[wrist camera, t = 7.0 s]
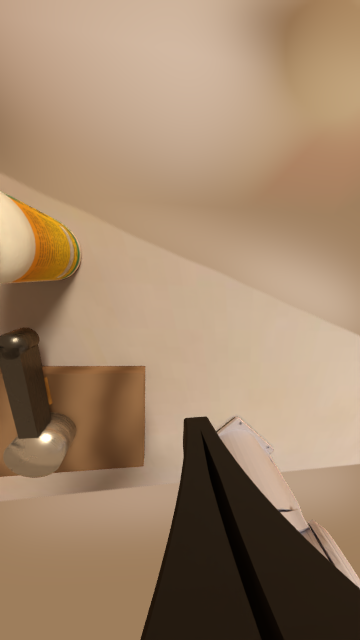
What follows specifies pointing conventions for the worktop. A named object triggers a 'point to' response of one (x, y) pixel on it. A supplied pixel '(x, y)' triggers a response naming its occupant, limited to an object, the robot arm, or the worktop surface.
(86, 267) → the worktop surface
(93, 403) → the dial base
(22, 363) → the round-headed handle tool
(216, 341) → the worktop surface
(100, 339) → the worktop surface
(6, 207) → the supplement bottle
